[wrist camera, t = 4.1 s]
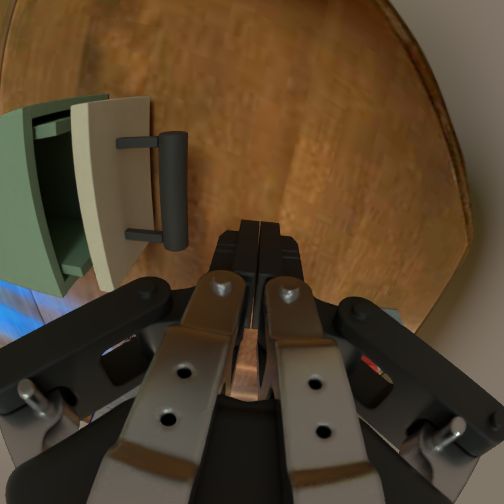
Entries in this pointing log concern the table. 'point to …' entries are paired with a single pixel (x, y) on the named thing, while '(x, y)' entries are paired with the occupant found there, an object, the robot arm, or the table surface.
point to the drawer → (109, 187)
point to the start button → (370, 363)
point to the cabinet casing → (29, 202)
